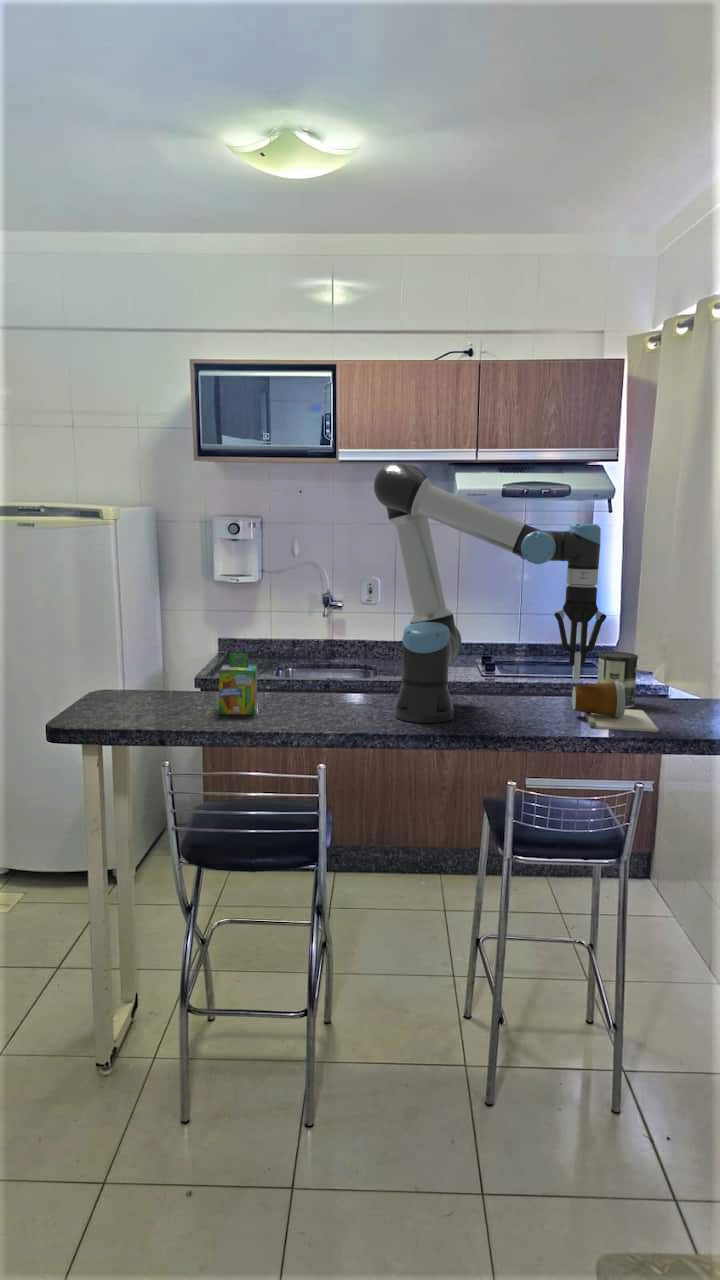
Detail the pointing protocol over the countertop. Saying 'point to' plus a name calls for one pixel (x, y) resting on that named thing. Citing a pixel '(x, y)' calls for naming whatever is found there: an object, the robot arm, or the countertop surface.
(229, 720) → the countertop surface
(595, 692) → the disposable coffee cup
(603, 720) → the cream flat rectangular board
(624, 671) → the coffee can
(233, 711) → the chalk box
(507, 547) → the robot arm
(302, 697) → the countertop surface
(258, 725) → the countertop surface
